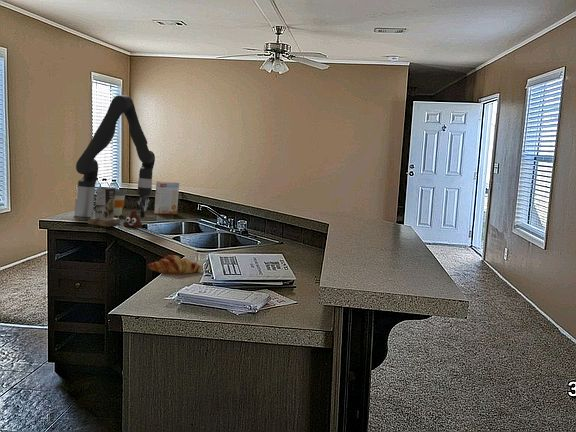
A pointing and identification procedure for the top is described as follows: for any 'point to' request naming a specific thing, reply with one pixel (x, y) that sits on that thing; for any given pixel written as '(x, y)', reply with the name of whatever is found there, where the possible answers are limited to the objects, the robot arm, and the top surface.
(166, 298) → the top surface
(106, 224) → the square wooden picture frame
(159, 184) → the cracker box
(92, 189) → the robot arm
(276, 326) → the top surface
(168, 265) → the croissant
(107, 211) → the coffee box
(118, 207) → the reusable coffee cup
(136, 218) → the poop emoji
